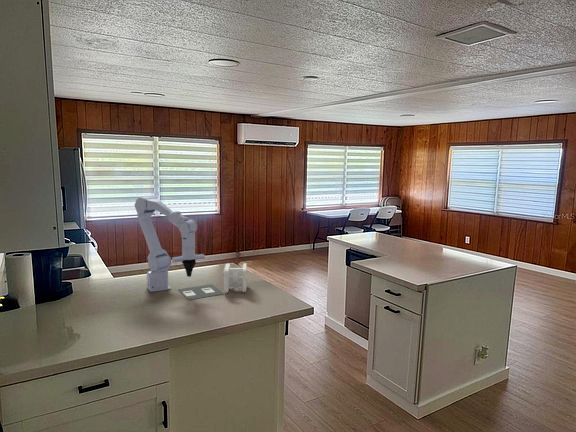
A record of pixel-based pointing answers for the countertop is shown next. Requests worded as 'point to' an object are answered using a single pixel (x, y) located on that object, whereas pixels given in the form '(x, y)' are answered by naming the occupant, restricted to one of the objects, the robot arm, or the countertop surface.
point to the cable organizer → (235, 277)
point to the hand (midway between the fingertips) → (188, 276)
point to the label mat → (200, 292)
